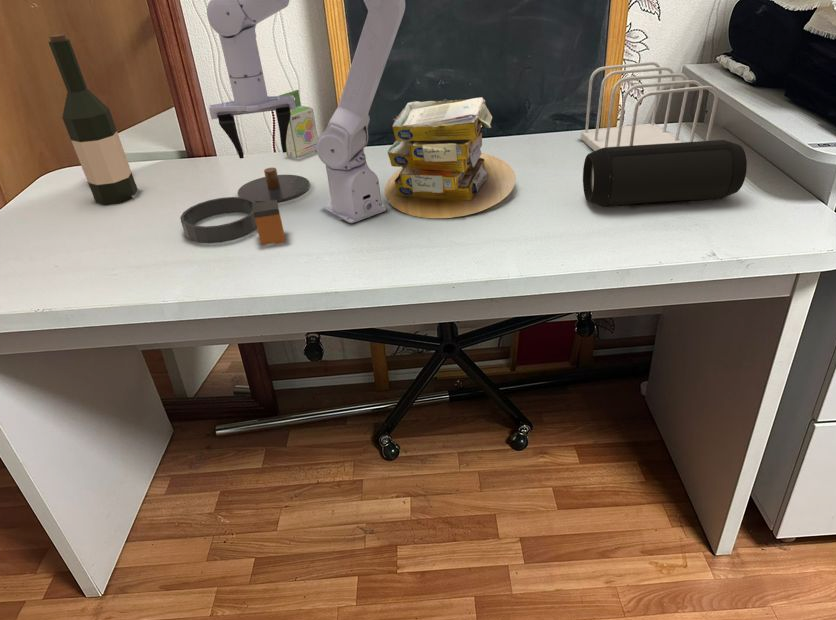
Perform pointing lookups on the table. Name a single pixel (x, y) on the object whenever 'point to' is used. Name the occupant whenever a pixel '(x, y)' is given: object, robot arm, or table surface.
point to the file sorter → (643, 132)
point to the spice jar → (268, 222)
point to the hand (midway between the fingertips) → (263, 153)
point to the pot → (221, 231)
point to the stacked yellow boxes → (445, 161)
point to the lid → (274, 187)
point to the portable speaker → (663, 173)
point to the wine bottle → (92, 132)
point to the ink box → (300, 129)
